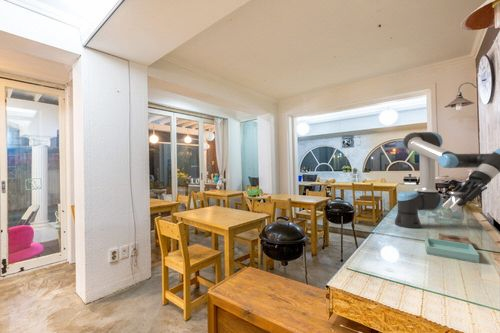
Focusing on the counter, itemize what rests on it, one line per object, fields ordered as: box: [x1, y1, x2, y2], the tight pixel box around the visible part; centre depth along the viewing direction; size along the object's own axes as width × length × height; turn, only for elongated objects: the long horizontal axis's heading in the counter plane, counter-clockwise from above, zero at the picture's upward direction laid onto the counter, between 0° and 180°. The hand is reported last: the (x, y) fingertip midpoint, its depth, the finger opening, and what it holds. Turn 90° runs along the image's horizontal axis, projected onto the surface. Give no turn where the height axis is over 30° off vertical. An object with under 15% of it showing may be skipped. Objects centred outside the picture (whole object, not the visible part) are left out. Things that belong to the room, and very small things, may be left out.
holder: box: [438, 233, 474, 247], centre depth 123 cm, size 12×12×3 cm
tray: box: [424, 237, 480, 264], centre depth 111 cm, size 18×16×4 cm
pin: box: [448, 190, 465, 220], centre depth 114 cm, size 6×6×13 cm
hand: (448, 208), depth 114 cm, fingers closed on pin, 4 cm apart
